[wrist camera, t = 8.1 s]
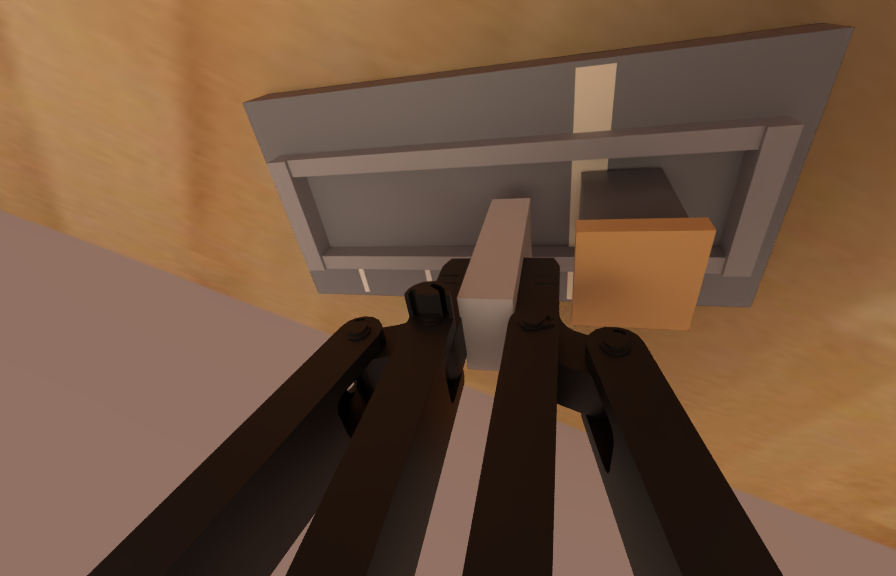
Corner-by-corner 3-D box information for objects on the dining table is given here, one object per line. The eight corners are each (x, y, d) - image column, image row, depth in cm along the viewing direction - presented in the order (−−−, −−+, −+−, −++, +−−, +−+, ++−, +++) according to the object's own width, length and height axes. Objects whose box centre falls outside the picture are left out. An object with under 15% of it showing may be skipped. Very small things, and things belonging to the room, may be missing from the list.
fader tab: (672, 159, 15) (716, 230, 11) (657, 242, 17) (689, 330, 13) (573, 165, 16) (576, 232, 12) (570, 242, 18) (571, 325, 14)
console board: (822, 23, 14) (878, 29, 11) (736, 282, 20) (760, 324, 18) (267, 94, 20) (225, 108, 18) (333, 275, 26) (308, 305, 24)
